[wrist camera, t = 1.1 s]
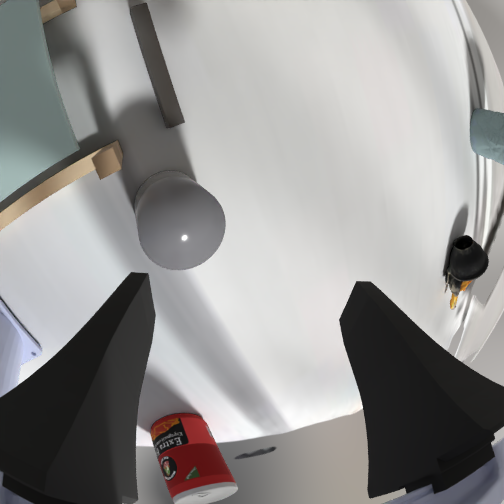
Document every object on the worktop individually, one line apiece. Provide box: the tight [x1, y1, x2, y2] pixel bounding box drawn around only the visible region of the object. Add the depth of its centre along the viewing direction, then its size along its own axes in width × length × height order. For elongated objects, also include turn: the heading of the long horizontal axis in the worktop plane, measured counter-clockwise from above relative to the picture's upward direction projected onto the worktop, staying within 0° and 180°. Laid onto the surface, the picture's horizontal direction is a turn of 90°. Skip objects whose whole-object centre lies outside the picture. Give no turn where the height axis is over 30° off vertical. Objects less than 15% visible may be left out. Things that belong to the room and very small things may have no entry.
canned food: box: [151, 413, 238, 504], centre depth 26 cm, size 8×8×11 cm
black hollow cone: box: [445, 235, 489, 310], centre depth 43 cm, size 9×11×18 cm
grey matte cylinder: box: [134, 170, 225, 270], centre depth 17 cm, size 5×5×5 cm
